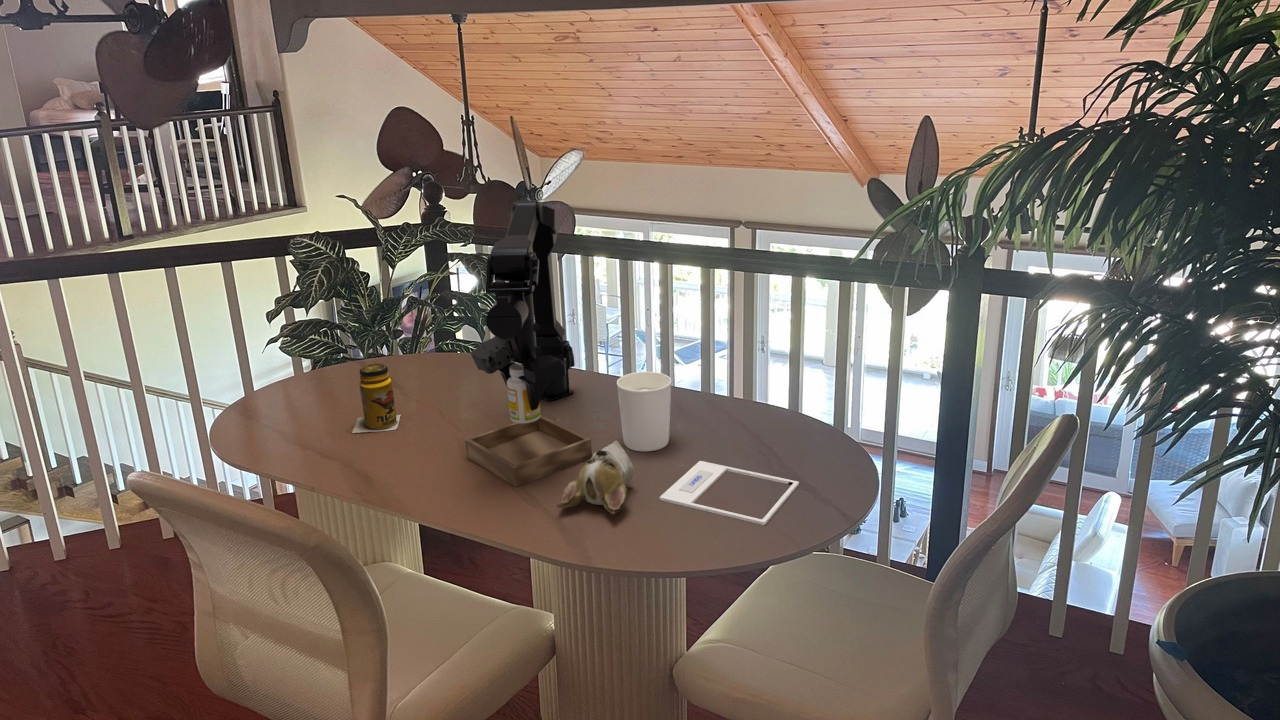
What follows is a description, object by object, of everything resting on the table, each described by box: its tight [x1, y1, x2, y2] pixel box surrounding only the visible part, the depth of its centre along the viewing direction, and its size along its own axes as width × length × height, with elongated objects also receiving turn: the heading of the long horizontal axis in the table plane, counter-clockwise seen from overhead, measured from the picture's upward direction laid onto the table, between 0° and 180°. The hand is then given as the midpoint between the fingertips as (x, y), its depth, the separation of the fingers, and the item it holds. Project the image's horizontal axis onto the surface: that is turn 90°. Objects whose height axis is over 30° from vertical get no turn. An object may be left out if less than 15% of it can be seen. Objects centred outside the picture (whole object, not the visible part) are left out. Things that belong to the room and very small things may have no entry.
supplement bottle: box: [506, 364, 542, 423], centre depth 155 cm, size 5×5×10 cm
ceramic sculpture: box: [556, 440, 635, 515], centre depth 143 cm, size 11×9×15 cm
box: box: [464, 414, 593, 488], centre depth 159 cm, size 16×16×4 cm
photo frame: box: [659, 460, 800, 526], centre depth 144 cm, size 15×1×18 cm
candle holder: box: [616, 371, 673, 452], centre depth 162 cm, size 10×10×12 cm
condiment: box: [351, 363, 401, 434], centre depth 174 cm, size 7×8×12 cm
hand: (524, 404), depth 156 cm, fingers closed on supplement bottle, 5 cm apart
